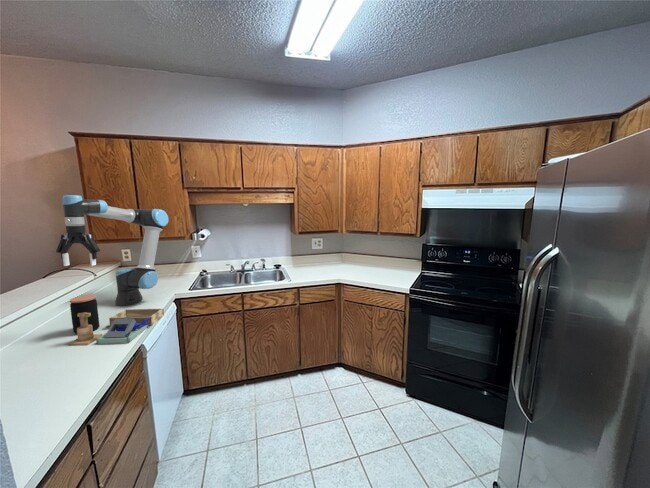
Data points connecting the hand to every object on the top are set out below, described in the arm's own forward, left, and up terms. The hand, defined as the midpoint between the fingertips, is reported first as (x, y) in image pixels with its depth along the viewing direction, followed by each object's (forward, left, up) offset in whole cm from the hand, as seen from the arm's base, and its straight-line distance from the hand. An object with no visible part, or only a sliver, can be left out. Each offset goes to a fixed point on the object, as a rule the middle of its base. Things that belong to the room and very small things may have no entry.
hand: (80, 265), depth 145 cm
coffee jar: (+3, +2, -35) cm, 35 cm away
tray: (+11, +27, -35) cm, 45 cm away
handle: (+15, +11, -35) cm, 39 cm away
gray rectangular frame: (+13, +27, -31) cm, 43 cm away
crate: (-5, +24, -35) cm, 42 cm away
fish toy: (+7, +28, -34) cm, 45 cm away
